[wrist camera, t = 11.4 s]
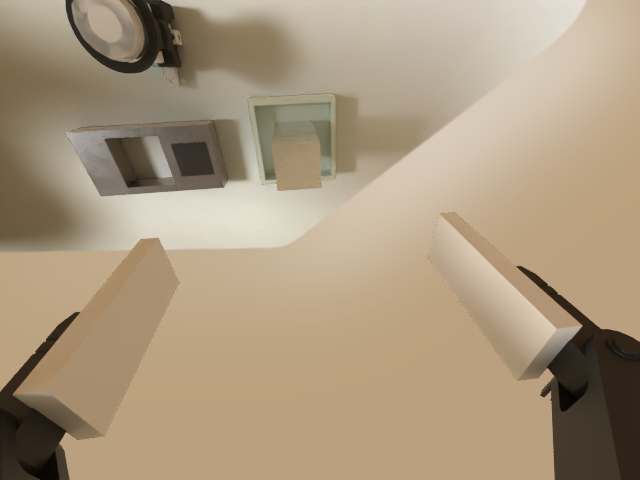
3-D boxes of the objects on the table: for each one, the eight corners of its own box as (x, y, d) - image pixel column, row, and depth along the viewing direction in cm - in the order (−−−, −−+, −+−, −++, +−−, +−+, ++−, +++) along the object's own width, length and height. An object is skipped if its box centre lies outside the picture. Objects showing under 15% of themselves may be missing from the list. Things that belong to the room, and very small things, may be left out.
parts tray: (263, 177, 33) (261, 184, 31) (250, 97, 28) (247, 100, 26) (332, 172, 34) (335, 179, 32) (332, 93, 29) (335, 96, 27)
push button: (203, 86, 27) (167, 96, 19) (150, 85, 27) (89, 95, 19) (187, 1, 24) (133, -32, 15) (124, -2, 23) (34, -38, 15)
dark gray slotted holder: (112, 187, 32) (100, 196, 30) (81, 127, 28) (64, 132, 26) (227, 179, 33) (223, 187, 31) (213, 120, 29) (207, 124, 27)
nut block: (280, 157, 32) (277, 190, 24) (275, 122, 30) (271, 145, 21) (312, 155, 32) (321, 187, 24) (311, 120, 30) (320, 142, 22)
